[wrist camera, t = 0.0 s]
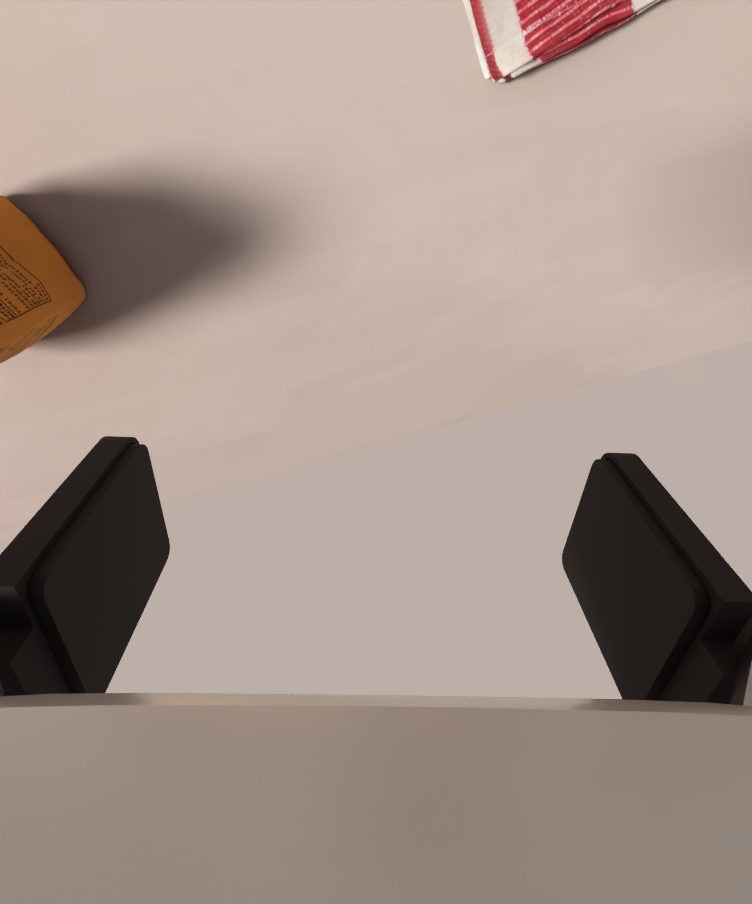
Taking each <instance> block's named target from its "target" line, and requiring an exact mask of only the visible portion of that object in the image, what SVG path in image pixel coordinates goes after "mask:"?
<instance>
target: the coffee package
mask: <svg viewBox="0 0 752 904" xmlns="http://www.w3.org/2000/svg"><path fill="white" fill-rule="evenodd" d="M85 297H86V293H85V289H84V287H83V285H82V283H81V282H80V281H79V280H78V279H77V277H76V276H75V275H74V274H73V272H72V271H71V270H70V268H69V267H68V265H67V264H66V262H65V261H64V259H63V258H62V257H61V255H60V254H59V252H58V251H57V250H56V249H55V248H54V247H53V246H52V244H51V243H50V242H49V241H48V240H47V239H46V238H45V237H44V236H43V235H42V234H41V232H40V231H39V230H38V228H37V227H36V226H35V225H34V223H33V222H32V221H31V220H30V219H29V218H28V217H27V216H26V215H25V214H24V213H22V212H21V211H20V210H19V209H18V208H17V207H15V206H14V205H13V204H12V203H11V202H10V201H9V200H8V199H7V198H5V197H4V196H0V363H2V362H4V361H6V360H8V359H9V358H11V357H13V356H15V355H17V354H18V353H20V352H22V351H23V350H25V349H27V348H28V347H30V346H31V345H33V344H34V343H36V342H37V341H39V340H40V339H42V338H43V337H45V336H46V335H47V334H48V333H50V332H51V331H52V330H54V329H55V328H56V327H57V326H59V325H60V324H61V323H62V322H63V321H64V320H65V319H66V318H67V317H69V316H70V315H71V314H72V313H73V312H74V311H75V310H76V309H77V308H78V306H79V305H80V304H81V303H82V302H83V300H84V299H85Z"/></svg>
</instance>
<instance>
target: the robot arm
mask: <svg viewBox="0 0 752 904" xmlns="http://www.w3.org/2000/svg"><path fill="white" fill-rule="evenodd" d="M169 550H170V544H169V538H168V534H167V530H166V525H165V521H164V517H163V513H162V508H161V504H160V499H159V495H158V491H157V486H156V482H155V478H154V474H153V469H152V465H151V461H150V456H149V452H148V449H147V447H146V446H145V445H142V444H139V442H138V441H137V439H136V438H134V437H111V436H106V437H103V438H102V439H100V441H99V442H98V443H97V444H96V445H95V446H94V448H93V449H92V450H91V451H90V452H89V453H88V454H87V456H86V457H85V458H84V459H83V460H82V461H81V462H80V464H79V465H78V466H77V467H76V468H75V469H74V471H73V472H72V473H71V474H70V475H69V476H68V477H67V479H66V480H65V481H64V482H63V483H62V484H61V486H60V487H59V488H58V489H57V490H56V491H55V492H54V494H53V495H52V496H51V497H50V498H49V499H48V500H47V502H46V503H45V504H44V505H43V506H42V507H41V509H40V510H39V511H38V512H37V513H36V514H35V515H34V517H33V518H32V519H31V520H30V521H29V522H28V524H27V525H26V526H25V527H24V528H23V529H22V530H21V532H20V533H19V534H18V535H17V536H16V537H15V538H14V540H13V541H12V542H11V543H10V544H9V545H8V547H7V548H6V549H5V550H4V551H3V552H2V553H1V555H0V904H752V592H751V591H750V589H749V588H748V587H747V586H746V585H745V583H744V582H743V581H742V580H741V579H740V577H739V576H738V575H737V574H736V573H735V571H734V570H733V569H732V568H731V567H730V566H729V564H728V563H727V562H726V561H725V560H724V558H723V557H722V556H721V555H720V554H719V552H718V551H717V550H716V549H715V548H714V546H713V545H712V544H711V543H710V542H709V541H708V539H707V538H706V537H705V536H704V534H703V533H702V532H701V531H700V530H699V528H698V527H697V526H696V525H695V524H694V523H693V521H692V520H691V519H690V518H689V517H688V515H687V514H686V513H685V512H684V511H683V509H682V508H681V507H680V506H679V505H678V504H677V502H676V501H675V500H674V499H673V498H672V496H671V495H670V494H669V493H668V491H667V490H666V489H665V488H664V487H663V486H662V484H661V483H660V482H659V481H658V480H657V478H656V477H655V476H654V475H653V474H652V473H651V471H650V470H649V469H648V468H647V466H646V465H645V464H644V463H643V462H642V460H641V459H640V458H639V457H638V456H637V455H636V454H629V453H606V454H604V455H603V456H602V458H601V459H597V460H595V461H594V463H593V464H592V467H591V470H590V473H589V476H588V479H587V482H586V485H585V488H584V491H583V494H582V497H581V500H580V503H579V506H578V509H577V511H576V514H575V518H574V520H573V524H572V527H571V529H570V532H569V535H568V538H567V541H566V544H565V547H564V550H563V554H562V563H563V567H564V570H565V572H566V575H567V577H568V579H569V581H570V583H571V585H572V588H573V590H574V592H575V594H576V597H577V599H578V601H579V603H580V606H581V608H582V610H583V612H584V615H585V617H586V619H587V621H588V623H589V626H590V628H591V630H592V632H593V634H594V637H595V639H596V641H597V643H598V646H599V647H600V650H601V652H602V654H603V657H604V659H605V661H606V663H607V665H608V667H609V669H610V672H611V674H612V676H613V679H614V681H615V683H616V685H617V687H618V690H619V692H620V694H621V696H622V699H575V698H570V699H569V698H520V697H468V696H400V695H398V696H397V695H396V696H395V695H323V694H321V695H320V694H317V695H316V694H215V693H214V694H211V693H208V694H207V693H205V694H204V693H201V694H200V693H105V692H106V690H107V688H108V685H109V683H110V681H111V679H112V677H113V675H114V673H115V671H116V668H117V666H118V664H119V662H120V660H121V657H122V656H123V653H124V651H125V649H126V647H127V645H128V643H129V641H130V638H131V636H132V634H133V632H134V630H135V628H136V625H137V623H138V621H139V619H140V617H141V615H142V613H143V611H144V608H145V606H146V604H147V602H148V600H149V598H150V596H151V594H152V591H153V589H154V587H155V585H156V583H157V580H158V579H159V576H160V574H161V572H162V570H163V568H164V566H165V564H166V561H167V559H168V556H169Z"/></svg>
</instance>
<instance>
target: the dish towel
mask: <svg viewBox="0 0 752 904" xmlns="http://www.w3.org/2000/svg"><path fill="white" fill-rule="evenodd" d="M658 1H660V0H463V2H464V6H465V9H466V13H467V17H468V20H469V23H470V26H471V30H472V33H473V37H474V42H475V46H476V50H477V54H478V57H479V61H480V65H481V68H482V71H483V74H484V77H485V79H489V78H492V81H493V83H495V82H497V81H498V82H499V83H500V84H502V83H504V82H506V81H508V80H510V79H512V78H515V77H517V76H519V75H521V74H522V73H524V72H526V71H528V70H530V69H532V68H534V67H537V66H539V65H541V64H544V63H546V62H549V61H552V60H554V59H556V58H558V57H560V56H562V55H564V54H566V53H568V52H570V51H572V50H574V49H575V48H577V47H579V46H581V45H583V44H586V43H588V42H589V41H591V40H592V39H594V38H595V37H597V36H599V35H601V34H602V33H604V32H607V31H609V30H611V29H613V28H615V27H617V26H619V25H621V24H623V23H625V22H627V21H628V20H630V19H631V18H632V17H634V16H636V15H638V14H639V13H641V12H642V11H644V10H645V9H647V8H649V7H650V6H652V5H653V4H655V3H657V2H658Z"/></svg>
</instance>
